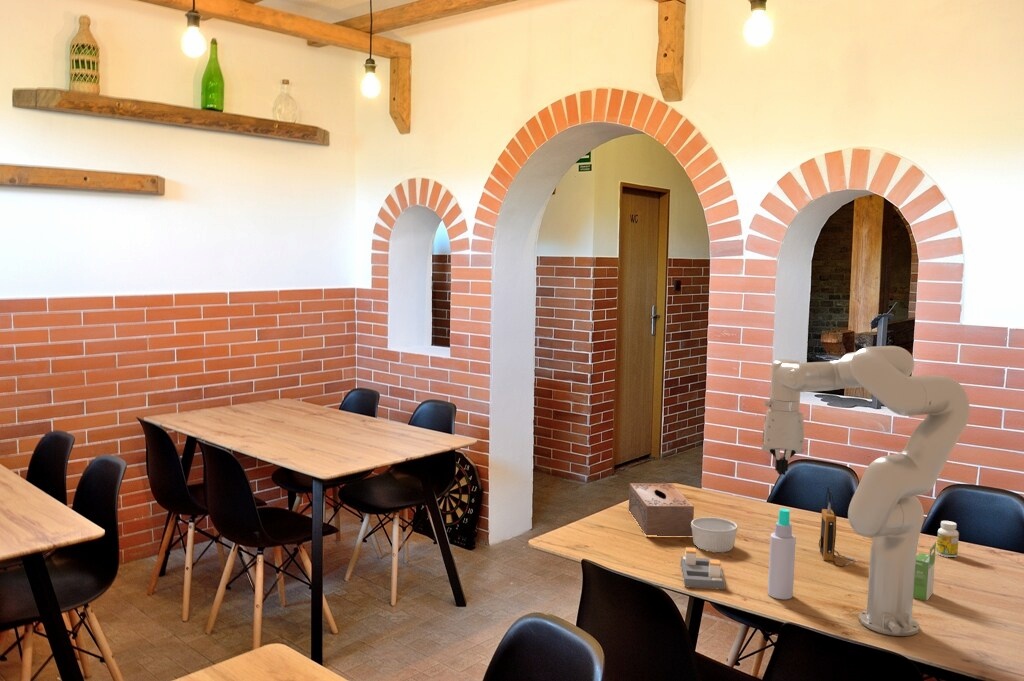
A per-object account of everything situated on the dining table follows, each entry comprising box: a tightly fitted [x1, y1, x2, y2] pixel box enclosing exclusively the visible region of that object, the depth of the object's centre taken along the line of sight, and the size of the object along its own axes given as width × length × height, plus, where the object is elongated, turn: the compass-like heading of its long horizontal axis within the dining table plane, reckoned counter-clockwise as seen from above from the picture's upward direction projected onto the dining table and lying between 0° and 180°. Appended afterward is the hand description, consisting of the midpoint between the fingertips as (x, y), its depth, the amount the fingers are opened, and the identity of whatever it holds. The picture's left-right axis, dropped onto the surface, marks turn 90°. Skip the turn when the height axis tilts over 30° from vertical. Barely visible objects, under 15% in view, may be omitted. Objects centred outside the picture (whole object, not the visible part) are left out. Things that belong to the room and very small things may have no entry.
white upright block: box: [708, 558, 721, 578], centre depth 212 cm, size 3×3×5 cm
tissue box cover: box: [628, 482, 695, 536], centre depth 260 cm, size 26×14×10 cm, turn 4°
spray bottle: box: [767, 508, 797, 600], centre depth 204 cm, size 6×6×22 cm
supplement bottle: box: [936, 520, 960, 558], centre depth 237 cm, size 5×5×10 cm
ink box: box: [913, 541, 937, 602], centre depth 207 cm, size 7×4×13 cm, turn 141°
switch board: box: [680, 556, 726, 590], centre depth 217 cm, size 16×10×2 cm, turn 172°
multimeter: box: [818, 486, 861, 568], centre depth 232 cm, size 15×10×20 cm
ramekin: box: [691, 516, 738, 553], centre depth 240 cm, size 13×13×7 cm
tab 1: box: [684, 547, 697, 565], centre depth 221 cm, size 3×3×5 cm
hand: (781, 473), depth 219 cm, fingers closed
